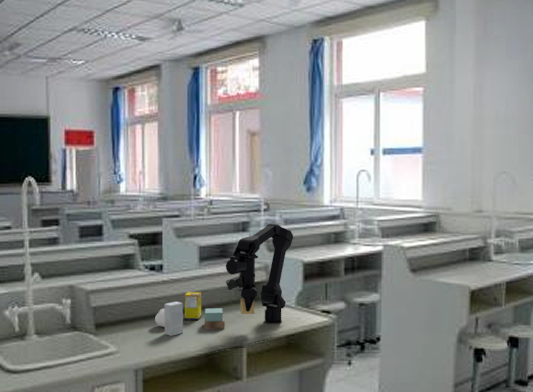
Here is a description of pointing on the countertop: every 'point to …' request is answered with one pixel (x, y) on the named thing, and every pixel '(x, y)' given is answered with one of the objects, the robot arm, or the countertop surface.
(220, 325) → the tower base
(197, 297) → the supplement box
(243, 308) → the ochre block
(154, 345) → the countertop surface
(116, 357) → the countertop surface
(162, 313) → the motion sensor
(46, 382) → the countertop surface
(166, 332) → the skincare box
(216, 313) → the tower top
